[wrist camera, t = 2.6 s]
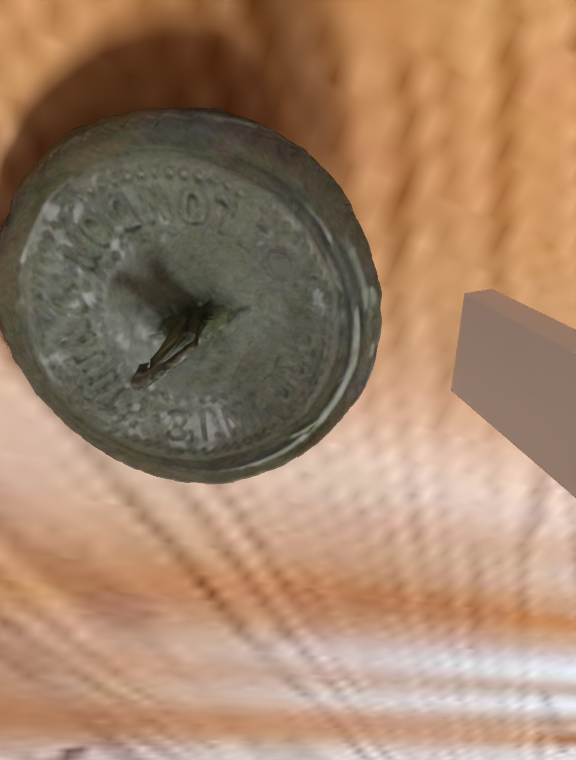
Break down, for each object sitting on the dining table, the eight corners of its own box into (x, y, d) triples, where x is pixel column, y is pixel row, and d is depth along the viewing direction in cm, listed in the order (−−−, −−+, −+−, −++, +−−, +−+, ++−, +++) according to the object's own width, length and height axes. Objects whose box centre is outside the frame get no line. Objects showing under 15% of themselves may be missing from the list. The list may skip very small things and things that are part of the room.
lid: (299, 436, 19) (347, 531, 15) (14, 442, 16) (-30, 565, 11) (363, 139, 14) (461, 153, 10) (-29, 61, 11) (-132, 34, 7)
